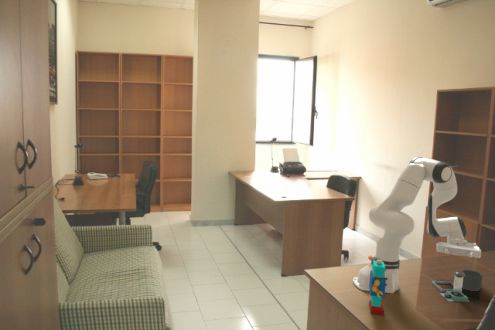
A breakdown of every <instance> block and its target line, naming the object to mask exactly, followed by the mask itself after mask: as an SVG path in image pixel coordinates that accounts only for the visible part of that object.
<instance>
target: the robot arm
mask: <svg viewBox="0 0 495 330" xmlns="http://www.w3.org/2000/svg"><path fill="white" fill-rule="evenodd" d="M456 178H457V177H456V175H455V172H454V170H453V168H452V166H451V165H450V164H449V163H446V162H445V161H440V160H436V159H433V158H429V157H422V156H417V157H414V158H412V159H411V160H410V161H409V163H408V164H407V165H406V166H405V168H404V169H403V171H402V172H401V174H400V176H399V177H398V179H397V180H396V183H394V186H393V188H392V190H391V192H390V193H389V195H388V196H387V197H385V199H384V200H382V202H380V203H379V204H377V205H374V206H373V207H372V208H370V211H369V213H368V218H369V221H370V222H371V223H373V224H374V225H375V226H376V227H378V228H380V229H382V230H384V235H383V236H382V237H381V238H378V240H377V241H376V245H375V246H376V248H375V255H374V256H373V255H370V254H369V256H367V257H368V258H367V259H368V260H369V261H370V263H369V264H367V265H365V266H363V267H362V268H360V269H359V271H358V273H357V276H354V277H353V279H352V284H353V285H354V286H355V287H356V288H357V289H359V290H361V291H366V292H370V289H369V282H370V271H371V270H372V266H373V261H377V260H382V262H384V265H385V268H386V271H385V279H386V286H385V293H386V294H394V293H395V292H396V291H399V290H400V288H401V287H400V281H399V270H400V264H401V260H400V252H401V247H402V246H401V245H402V243H403V241H404V240H405V238H406V237H407V236H408V235H410V234H411V233H412V232H413V231H414V229H415V221H414V219H413V217H412V216H410V215H408V214H407V213H406V212H403V211H402V210H403V209H405V208H406V207H408V206H411V205H412V204H413V203H414V201H415V200H416V197H417V196H418V194H419V192H420V189H421V188H422V185H423V183H424V181H427V182H431V183H432V185H433V190H432V192H431V193H430V194H429V195H428V202H427V203H428V204H427V224H426V231H427V234H428V235H429V236H431V237H432V238H434V239H436V238H441V237H446V242H444V241H438V242H436V243H435V246H436V248H435V250H436V251H435V252H437V253H443V254H446V255H454V256H463V257H467V258H469V259H470V258H471V259H472V258H476V259H480V258H481V256H482V250H481V248H480V247H479V246H478V245H477V243H476V242H473V241H469V240H467V239H465V238H466V235H467V228H466V225H465V223H464V220H463V218H461V217H459V216H451V217H443V218H437V209H438V207H440V206H441V205H443V204H446V203H447V202H450V201H451V200H453V199H454V198H455V197H456V196H457V193H458V183H457V182H458V181H457V179H456ZM379 255H380V256H379Z"/></svg>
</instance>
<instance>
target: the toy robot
mask: <svg viewBox="0 0 495 330" xmlns="http://www.w3.org/2000/svg"><path fill="white" fill-rule="evenodd" d="M379 256H380V255H379ZM385 271H386V268H385V265H384V262H382V260H377V261H373V266H372V270H371V271H370V282H369V289H370V291H369V294H370V300H369V301H368V302H369V303H368V306H369V307H368V308H369V312H370V314H373V315H382V316H384V315H385V309H384V306H383V302H382V298H385V286H386V279H385Z"/></svg>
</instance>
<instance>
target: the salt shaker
mask: <svg viewBox="0 0 495 330" xmlns="http://www.w3.org/2000/svg"><path fill="white" fill-rule="evenodd" d="M453 275H454V279H453V283H454V286H452V287H453V288H452V289H453V295H454V296H456V297H461V293H463V282H464V277H465V275H466V274H465V272H463V271H459V270H455V271H454V272H453Z"/></svg>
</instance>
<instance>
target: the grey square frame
mask: <svg viewBox="0 0 495 330" xmlns="http://www.w3.org/2000/svg"><path fill="white" fill-rule="evenodd" d="M431 284H432V285H433V286H435V288H437V289H438V290H439V291H440V292H443V293H446V291H453V288H442V287H441V286H440V285H443V284H444V285H451V286H452V287H453V286H454V281H453V282H452V281H451V280H450V281H449V280H431ZM438 284H439V285H438Z"/></svg>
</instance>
